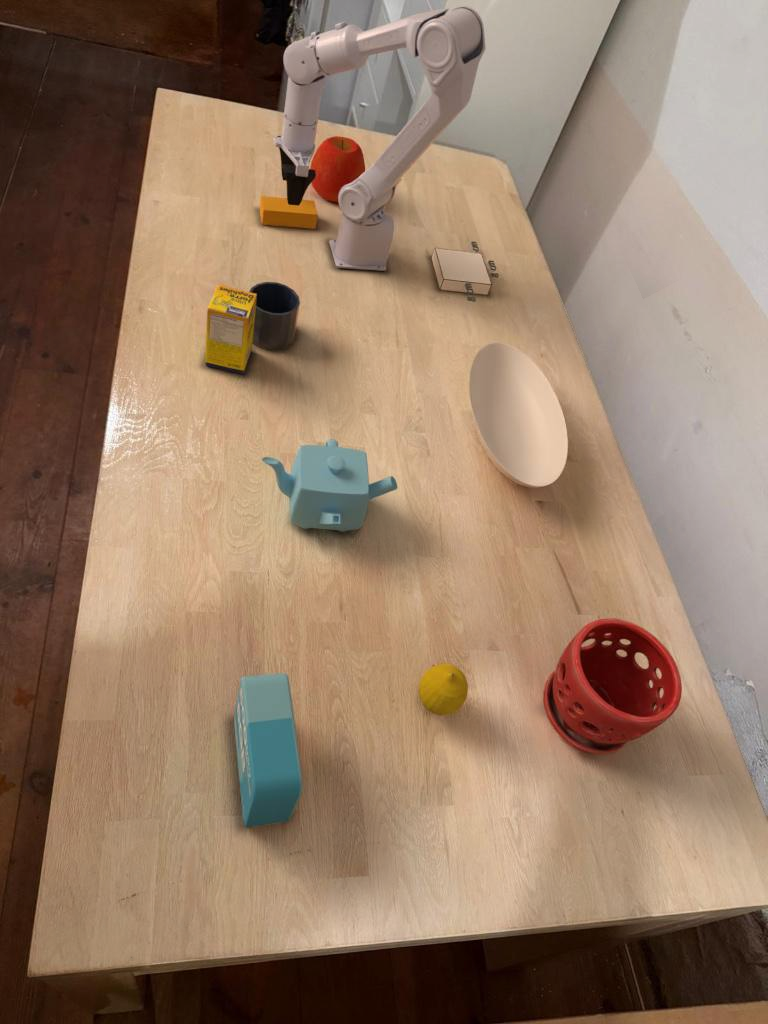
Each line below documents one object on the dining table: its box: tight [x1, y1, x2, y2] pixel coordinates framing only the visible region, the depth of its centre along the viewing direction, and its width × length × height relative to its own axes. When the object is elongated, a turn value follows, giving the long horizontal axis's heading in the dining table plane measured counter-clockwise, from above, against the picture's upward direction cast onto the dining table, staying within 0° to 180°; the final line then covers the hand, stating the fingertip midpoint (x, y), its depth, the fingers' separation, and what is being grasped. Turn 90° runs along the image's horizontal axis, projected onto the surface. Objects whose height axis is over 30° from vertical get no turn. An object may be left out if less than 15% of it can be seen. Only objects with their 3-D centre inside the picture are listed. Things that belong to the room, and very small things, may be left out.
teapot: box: [261, 438, 398, 532], centre depth 97 cm, size 18×14×10 cm
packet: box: [259, 195, 318, 230], centre depth 138 cm, size 10×4×3 cm, turn 102°
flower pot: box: [542, 618, 683, 755], centre depth 87 cm, size 13×13×12 cm
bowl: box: [468, 342, 569, 488], centre depth 115 cm, size 30×15×6 cm, turn 4°
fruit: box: [418, 663, 469, 716], centre depth 85 cm, size 6×6×8 cm
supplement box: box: [205, 284, 257, 375], centre depth 110 cm, size 6×6×11 cm
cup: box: [248, 281, 301, 351], centre depth 117 cm, size 8×8×7 cm
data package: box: [233, 672, 303, 828], centre depth 74 cm, size 12×4×12 cm, turn 12°
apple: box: [309, 135, 366, 203], centre depth 145 cm, size 11×11×11 cm
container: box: [430, 241, 500, 303], centre depth 140 cm, size 20×11×3 cm, turn 8°
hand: (290, 191), depth 135 cm, fingers open, 7 cm apart
